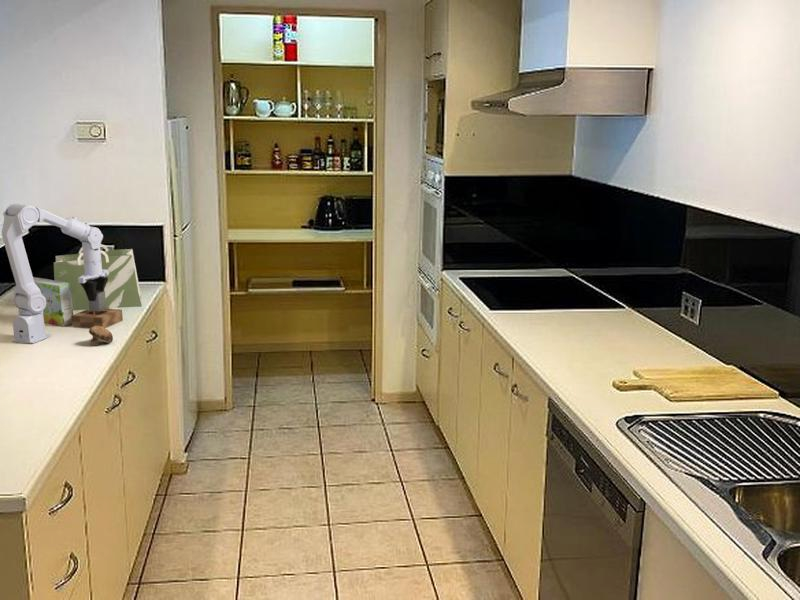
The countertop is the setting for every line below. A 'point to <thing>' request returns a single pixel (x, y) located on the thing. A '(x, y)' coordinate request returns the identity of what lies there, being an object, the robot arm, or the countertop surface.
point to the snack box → (56, 301)
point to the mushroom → (100, 335)
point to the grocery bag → (120, 279)
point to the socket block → (97, 318)
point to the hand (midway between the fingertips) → (95, 299)
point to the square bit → (98, 301)
